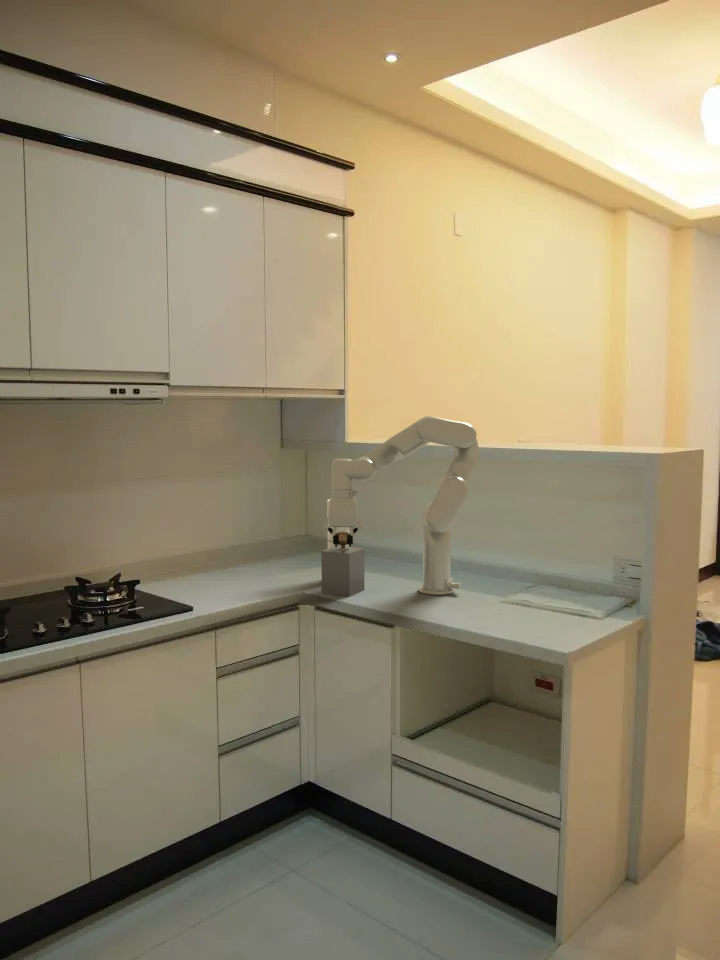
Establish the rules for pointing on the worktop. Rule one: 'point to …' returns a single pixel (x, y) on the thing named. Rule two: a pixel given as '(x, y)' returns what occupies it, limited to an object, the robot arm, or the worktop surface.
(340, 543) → the plunger
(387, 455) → the robot arm
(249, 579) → the worktop surface
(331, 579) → the grey box
